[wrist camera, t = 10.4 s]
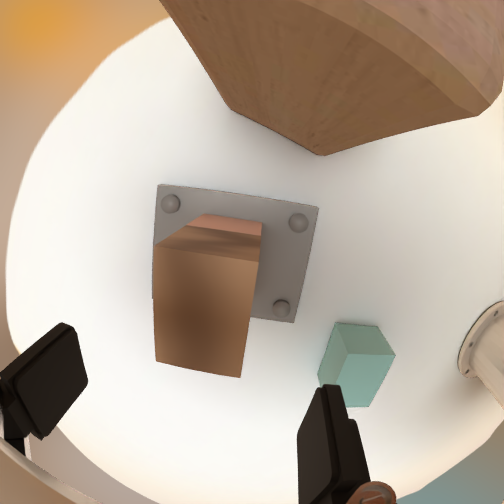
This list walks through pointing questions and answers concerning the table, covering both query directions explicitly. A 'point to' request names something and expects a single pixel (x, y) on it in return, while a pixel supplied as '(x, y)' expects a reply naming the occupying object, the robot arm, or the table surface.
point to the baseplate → (273, 243)
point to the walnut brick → (204, 298)
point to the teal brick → (356, 362)
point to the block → (348, 63)
